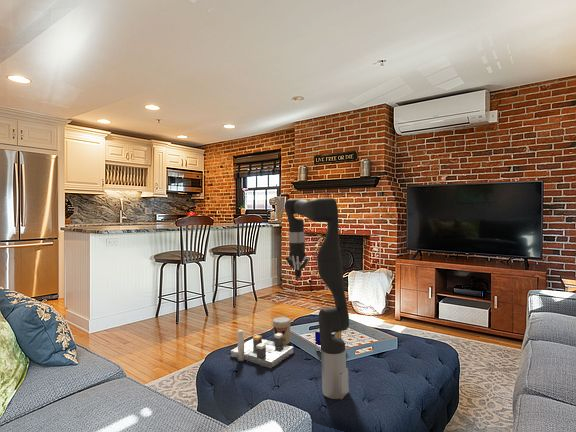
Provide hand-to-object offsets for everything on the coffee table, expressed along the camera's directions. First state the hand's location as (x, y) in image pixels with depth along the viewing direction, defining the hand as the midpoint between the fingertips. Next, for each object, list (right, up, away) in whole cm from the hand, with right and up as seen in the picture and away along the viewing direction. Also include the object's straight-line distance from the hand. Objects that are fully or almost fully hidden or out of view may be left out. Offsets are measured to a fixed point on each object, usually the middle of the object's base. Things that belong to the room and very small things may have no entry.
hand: (298, 277), depth 176 cm
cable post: (-27, -38, -3) cm, 47 cm away
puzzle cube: (+15, -37, +5) cm, 40 cm away
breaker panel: (-17, -38, +2) cm, 41 cm away
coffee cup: (-8, -37, +16) cm, 41 cm away
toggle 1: (-20, -34, +3) cm, 40 cm away
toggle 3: (-9, -34, +4) cm, 35 cm away
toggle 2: (-17, -35, -7) cm, 39 cm away
